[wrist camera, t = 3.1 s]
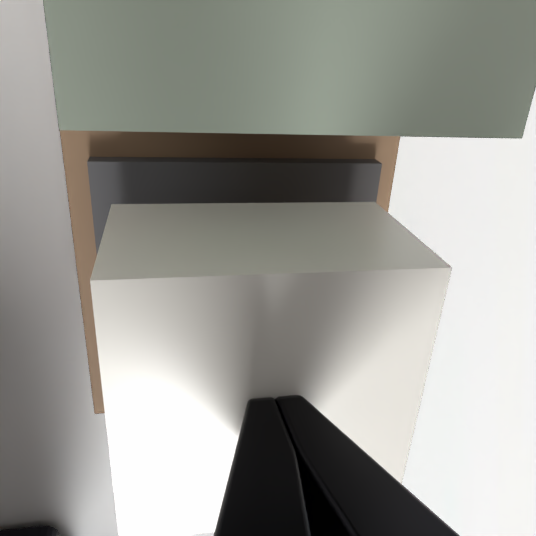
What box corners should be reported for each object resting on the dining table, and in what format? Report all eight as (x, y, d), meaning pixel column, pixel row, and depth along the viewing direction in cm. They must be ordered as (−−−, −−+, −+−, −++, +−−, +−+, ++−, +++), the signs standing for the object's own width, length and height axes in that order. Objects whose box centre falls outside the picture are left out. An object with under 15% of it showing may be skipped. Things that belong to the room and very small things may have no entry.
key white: (129, 419, 11) (119, 544, 8) (111, 204, 9) (89, 280, 6) (345, 401, 12) (396, 508, 9) (374, 202, 10) (451, 268, 7)
